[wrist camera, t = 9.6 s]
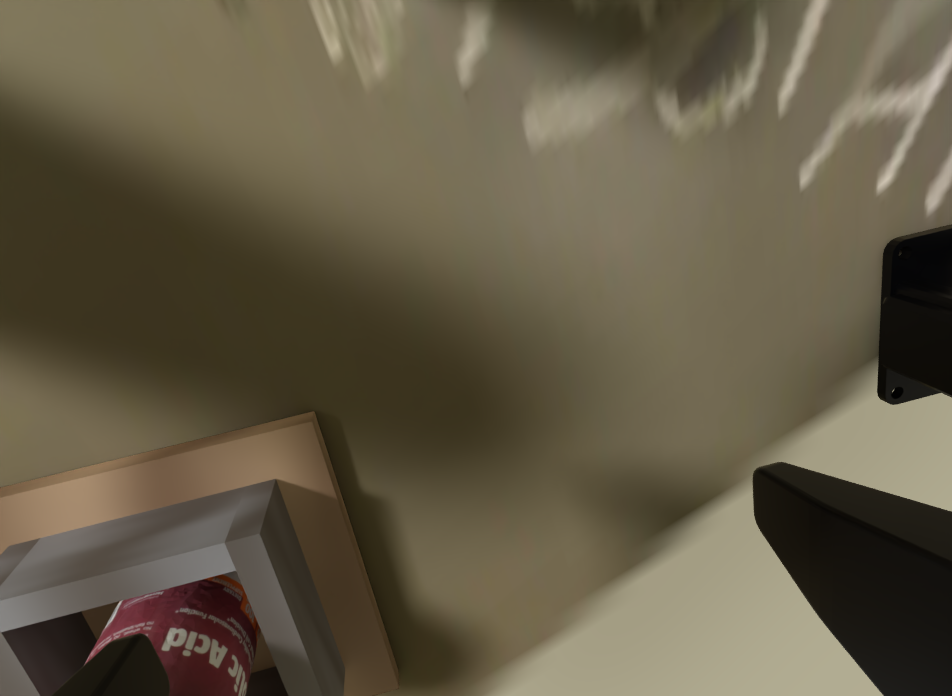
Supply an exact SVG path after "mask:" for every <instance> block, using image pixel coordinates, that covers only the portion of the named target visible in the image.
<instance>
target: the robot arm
mask: <svg viewBox="0 0 952 696" xmlns="http://www.w3.org/2000/svg"><path fill="white" fill-rule="evenodd" d="M901 249H903V250H902V254H901V255H900V256H899V251H900V250H901ZM894 388H895V389H894ZM893 390H894V391H893ZM892 391H893V392H892ZM877 393H878V397H879V398H880V399H881V400H883V401H885V402H887V403H889V404H892V405H894V404H900V403H904V402H908V401H911V400H915V399H919V398H922V397H927V396H930V395H934V394H938V393H943V394H945V395H947V396H950V397H952V225H947V226H943V227H939V228H935V229H931V230H927V231H922V232H918V233H914V234H910V235H906V236H901V237H897V238H895V239H893V240H891V241H890V242H889V243H888V244H887V246H886V247H885V249H884V253H883V272H882V295H881V318H880V341H879V364H878V387H877ZM753 499H754V516H755V520H756V523H757V525H758V527H759V529H760V531H761V532H762V534H763V535H764V537H765V538H766V540H767V541H768V543H769V544H770V546H771V547H772V549H773V550H774V551H775V553H776V555H777V556H778V558H779V559H780V561H781V562H782V564H783V565H784V567H785V568H786V569H787V571H788V572H789V574H790V575H791V577H792V578H793V580H794V581H795V583H796V584H797V586H798V587H799V589H800V590H801V592H802V593H803V595H804V596H805V598H806V599H807V601H808V602H809V603H810V605H811V606H812V608H813V609H814V611H815V612H816V613H817V615H818V616H819V618H820V619H821V620H822V621H823V623H824V624H825V625H826V626H827V628H828V629H829V630H830V631H831V632H832V634H833V635H834V636H835V637H836V639H837V640H838V641H839V642H840V643H841V645H842V646H843V647H844V648H845V650H846V651H847V652H848V653H849V654H850V655H851V657H852V658H853V659H854V660H855V662H856V663H857V664H858V665H859V666H860V668H861V669H862V670H863V671H864V673H865V674H866V675H867V676H868V677H869V679H870V680H871V681H872V682H873V683H874V685H875V686H876V687H877V688H878V689H879V691H880V692H881V693H882V694H883V695H884V696H952V512H951V511H947V510H944V509H941V508H937V507H933V506H930V505H927V504H923V503H920V502H917V501H913V500H910V499H907V498H903V497H900V496H896V495H893V494H890V493H886V492H883V491H879V490H876V489H873V488H869V487H866V486H862V485H859V484H856V483H852V482H848V481H845V480H842V479H838V478H835V477H832V476H828V475H825V474H821V473H818V472H815V471H811V470H808V469H804V468H801V467H797V466H794V465H791V464H788V463H784V462H777V463H773V464H769V465H766V466H762V467H758V468H757V469H756V470H755V471H754V473H753ZM169 693H170V683H169V678H168V675H167V672H166V670H165V668H164V666H163V664H162V662H161V660H160V658H159V656H158V654H157V652H156V650H155V648H154V646H153V644H152V642H151V641H150V639H149V637H148V636H146V635H145V634H142V633H137V634H133V635H130V636H126V637H122V638H118V639H115V640H113V641H111V642H109V643H108V644H107V645H106V646H105V647H104V648H103V649H101V650H100V651H99V652H98V653H97V654H96V655H95V656H94V657H93V658H92V659H90V660H89V661H88V662H87V663H86V664H85V665H84V666H83V667H82V668H81V669H79V670H78V671H77V672H76V673H75V674H74V675H73V676H72V677H71V678H70V679H68V680H67V681H66V682H65V683H64V684H63V685H62V686H61V687H60V688H59V689H57V690H56V691H55V692H54V693H53V694H52V695H51V696H169Z"/></svg>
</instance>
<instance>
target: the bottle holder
mask: <svg viewBox="0 0 952 696" xmlns="http://www.w3.org/2000/svg"><path fill="white" fill-rule="evenodd" d="M233 571H236V572H237V574H238V576H239V579H240V581H241V584H242V586H243V588H244V591H245V593H246V595H247V598H248V600H249V603H250V605H251V607H252V610H253V612H254V615H255V617H256V619H257V622H258V624H259V627H260V629H261V632H260V636H259V641H258V645H257V649H256V654H255V658H254V664H253V667H252V670H251V674H250V678H249V682H248V687H247V692H246V695H245V696H374V695H378V694H381V693H385V692H388V691H392V690H395V689H399V671H398V668H397V665H396V662H395V659H394V656H393V653H392V649H391V646H390V643H389V640H388V637H387V634H386V631H385V628H384V625H383V622H382V619H381V615H380V612H379V609H378V606H377V603H376V600H375V597H374V594H373V591H372V588H371V585H370V582H369V578H368V575H367V572H366V569H365V566H364V563H363V560H362V557H361V554H360V551H359V548H358V544H357V541H356V538H355V535H354V532H353V529H352V526H351V523H350V520H349V517H348V514H347V510H346V507H345V504H344V501H343V498H342V495H341V492H340V489H339V486H338V483H337V480H336V477H335V473H334V470H333V467H332V464H331V461H330V458H329V455H328V452H327V449H326V446H325V443H324V439H323V436H322V433H321V430H320V427H319V424H318V421H317V418H316V415H315V412H314V411H313V412H309V413H304V414H300V415H296V416H292V417H288V418H284V419H280V420H276V421H272V422H268V423H263V424H259V425H255V426H251V427H247V428H243V429H239V430H235V431H231V432H227V433H223V434H218V435H214V436H210V437H206V438H202V439H198V440H194V441H190V442H186V443H182V444H177V445H173V446H169V447H165V448H161V449H157V450H153V451H149V452H145V453H141V454H137V455H132V456H128V457H124V458H120V459H116V460H112V461H108V462H104V463H100V464H96V465H91V466H87V467H83V468H79V469H75V470H71V471H67V472H63V473H59V474H55V475H50V476H46V477H42V478H38V479H34V480H30V481H26V482H22V483H18V484H14V485H10V486H5V487H1V488H0V696H51V695H52V694H53V693H54V692H55V691H56V690H57V689H59V688H60V687H61V686H62V685H63V684H64V683H65V682H66V681H67V680H68V679H70V678H71V677H72V676H73V675H74V674H75V673H76V672H77V671H78V670H79V669H81V668H82V667H83V666H84V664H85V662H86V661H87V659H88V657H89V655H90V653H91V651H92V650H93V648H94V646H95V644H96V643H97V641H98V639H99V638H100V636H101V634H102V631H103V630H104V628H105V627H106V625H107V623H108V621H109V619H110V618H111V616H112V614H113V612H114V610H115V608H116V607H117V605H118V603H119V601H122V600H126V599H130V598H134V597H137V596H141V595H145V594H149V593H153V592H156V591H160V590H164V589H168V588H172V587H175V586H179V585H183V584H187V583H191V582H194V581H198V580H202V579H206V578H210V577H214V576H217V575H221V574H225V573H229V572H233Z"/></svg>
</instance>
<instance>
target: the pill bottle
mask: <svg viewBox="0 0 952 696" xmlns="http://www.w3.org/2000/svg"><path fill="white" fill-rule="evenodd" d="M260 632H261V629H260V627H259V624H258V622H257V619H256V617H255V615H254V612H253V610H252V607H251V605H250V603H249V600H248V598H247V595H246V593H245V591H244V588H243V586H242V584H241V581H240V579H239V576H238V574H237V572H236V571H233V572H229V573H225V574H221V575H217V576H214V577H210V578H206V579H202V580H198V581H194V582H191V583H187V584H183V585H179V586H175V587H172V588H168V589H164V590H160V591H156V592H153V593H149V594H145V595H141V596H137V597H134V598H130V599H126V600H122V601H119V603H118V605H117V607H116V608H115V610H114V612H113V614H112V616H111V618H110V619H109V621H108V623H107V625H106V627H105V628H104V630H103V631H102V634H101V636H100V638H99V639H98V641H97V643H96V644H95V646H94V648H93V650H92V651H91V653H90V655H89V657H88V659H87V661H86V662H85V664H86V663H87V662H88V661H89V660H90V659H92V658H93V657H94V656H95V655H96V654H97V653H98V652H99V651H100V650H101V649H103V648H104V647H105V646H106V645H107V644H108V643H109V642H111V641H113V640H115V639H118V638H122V637H126V636H130V635H133V634H137V633H142V634H145V635H146V636H148V637H149V639H150V641H151V642H152V644H153V646H154V648H155V650H156V652H157V654H158V656H159V658H160V660H161V662H162V664H163V666H164V668H165V670H166V672H167V675H168V678H169V683H170V693H169V696H245V695H246V692H247V687H248V682H249V678H250V674H251V670H252V667H253V664H254V658H255V654H256V649H257V645H258V641H259V636H260ZM85 664H84V665H85Z"/></svg>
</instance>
